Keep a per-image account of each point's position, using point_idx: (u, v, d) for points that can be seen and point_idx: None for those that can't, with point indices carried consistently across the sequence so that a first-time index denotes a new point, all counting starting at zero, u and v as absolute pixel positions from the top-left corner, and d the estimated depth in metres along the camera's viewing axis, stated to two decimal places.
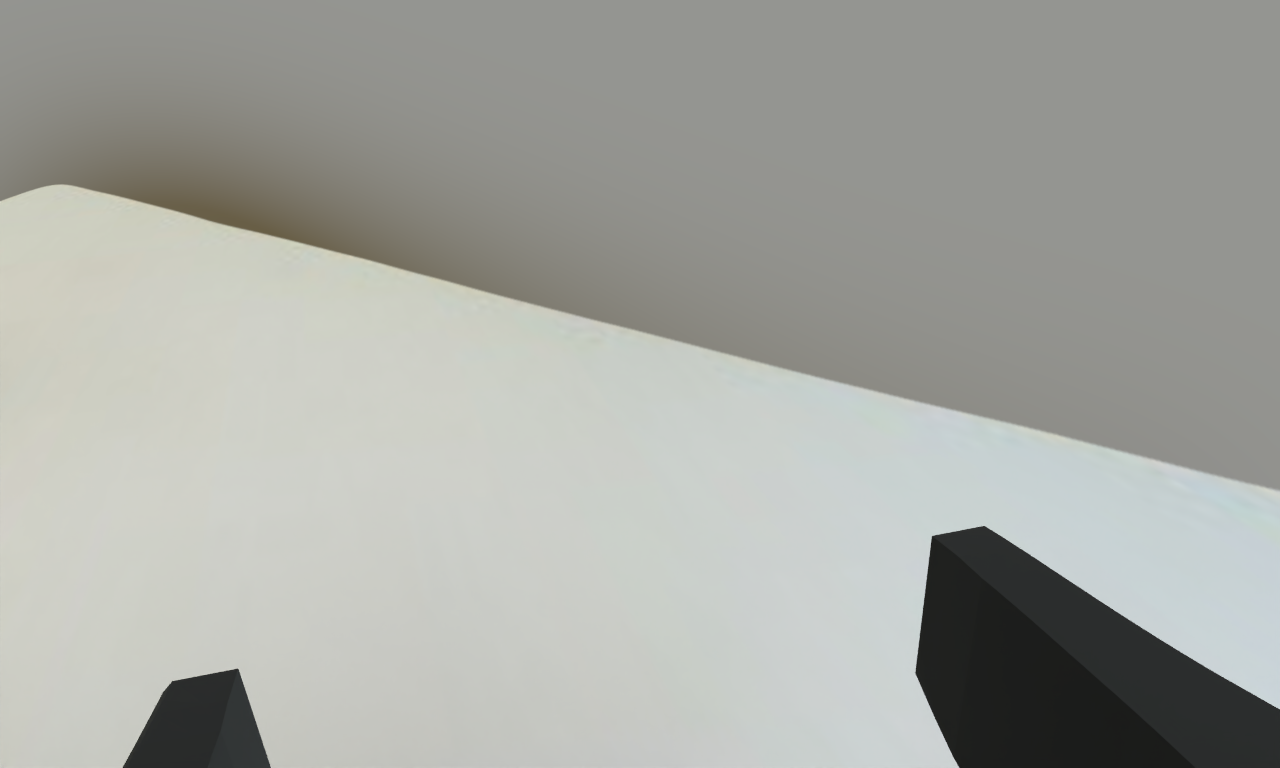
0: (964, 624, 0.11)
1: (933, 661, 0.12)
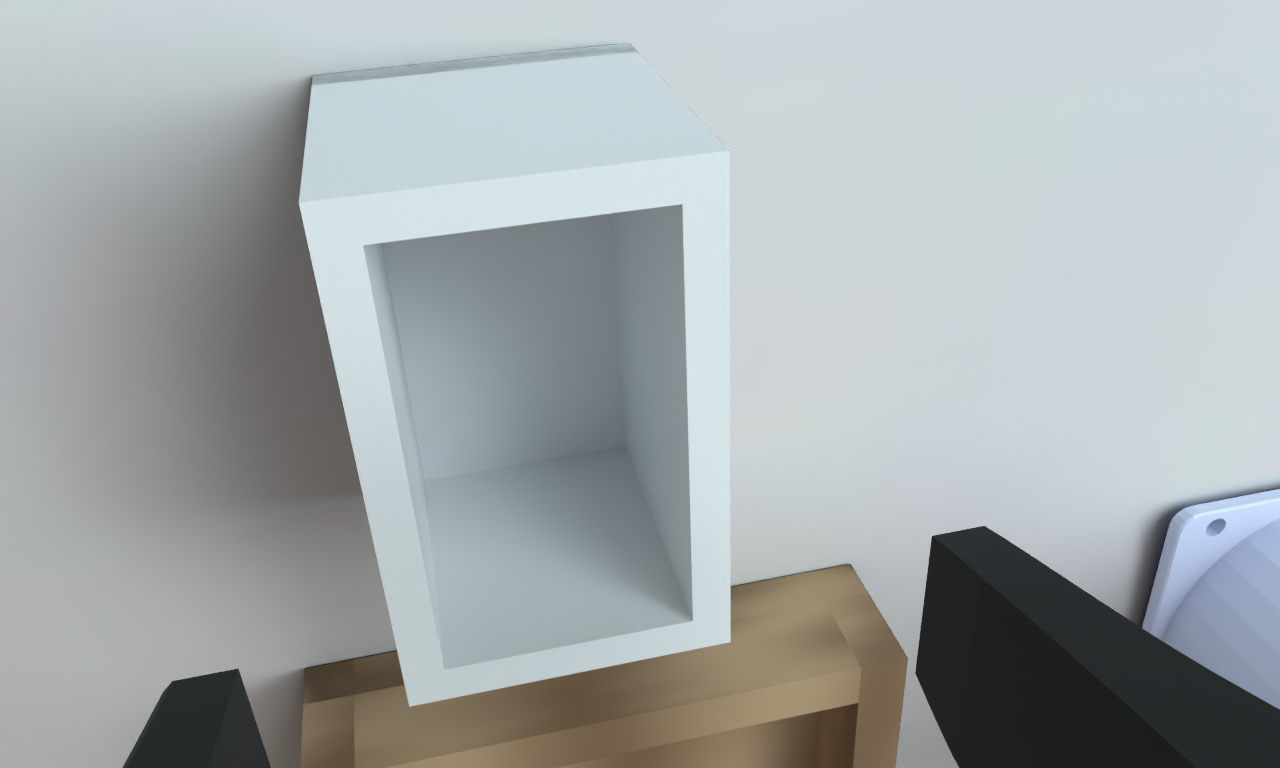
0: (964, 624, 0.11)
1: (933, 661, 0.12)
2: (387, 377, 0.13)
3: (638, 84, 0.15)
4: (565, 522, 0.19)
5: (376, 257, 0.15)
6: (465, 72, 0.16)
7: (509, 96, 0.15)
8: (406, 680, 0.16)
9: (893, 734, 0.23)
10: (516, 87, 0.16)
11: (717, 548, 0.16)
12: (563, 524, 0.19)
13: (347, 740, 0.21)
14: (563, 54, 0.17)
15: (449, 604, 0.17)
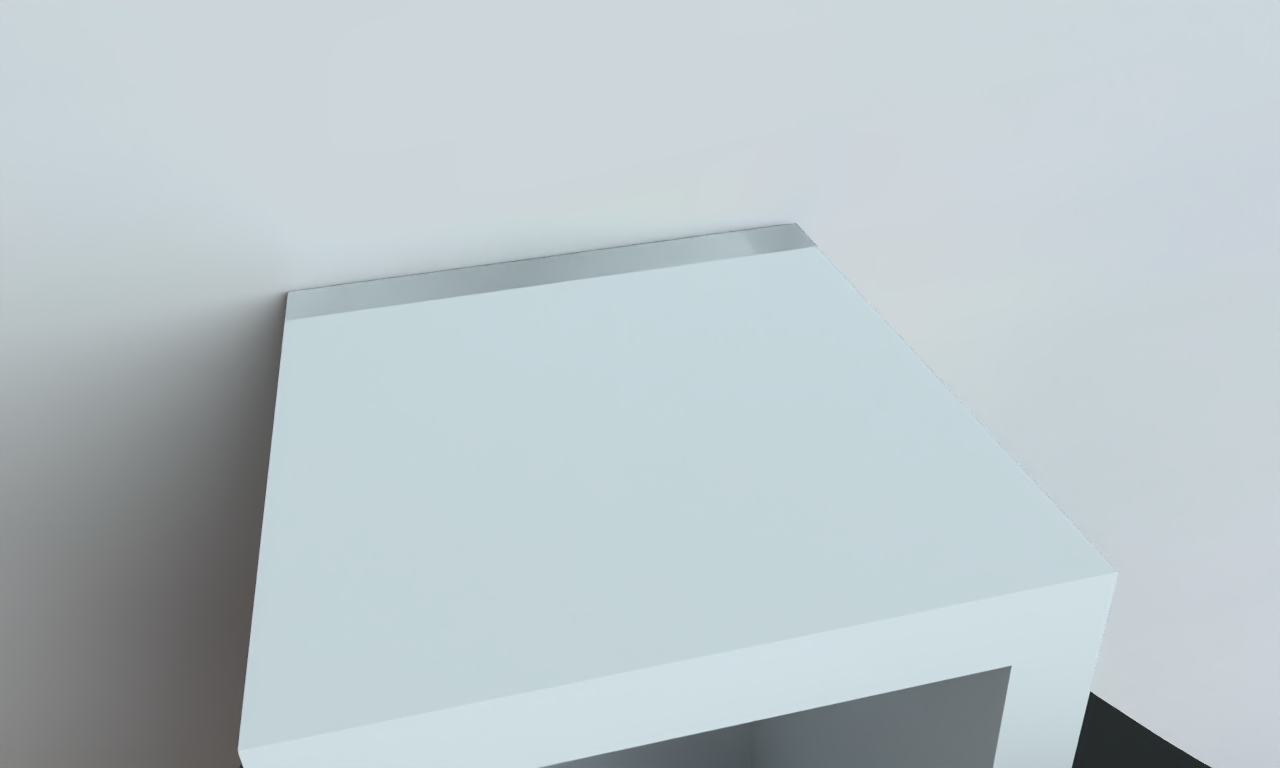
0: None
1: None
2: None
3: (848, 337, 0.09)
4: None
5: None
6: (540, 292, 0.10)
7: (628, 365, 0.09)
8: None
9: None
10: (635, 338, 0.09)
11: None
12: None
13: None
14: (695, 250, 0.11)
15: None
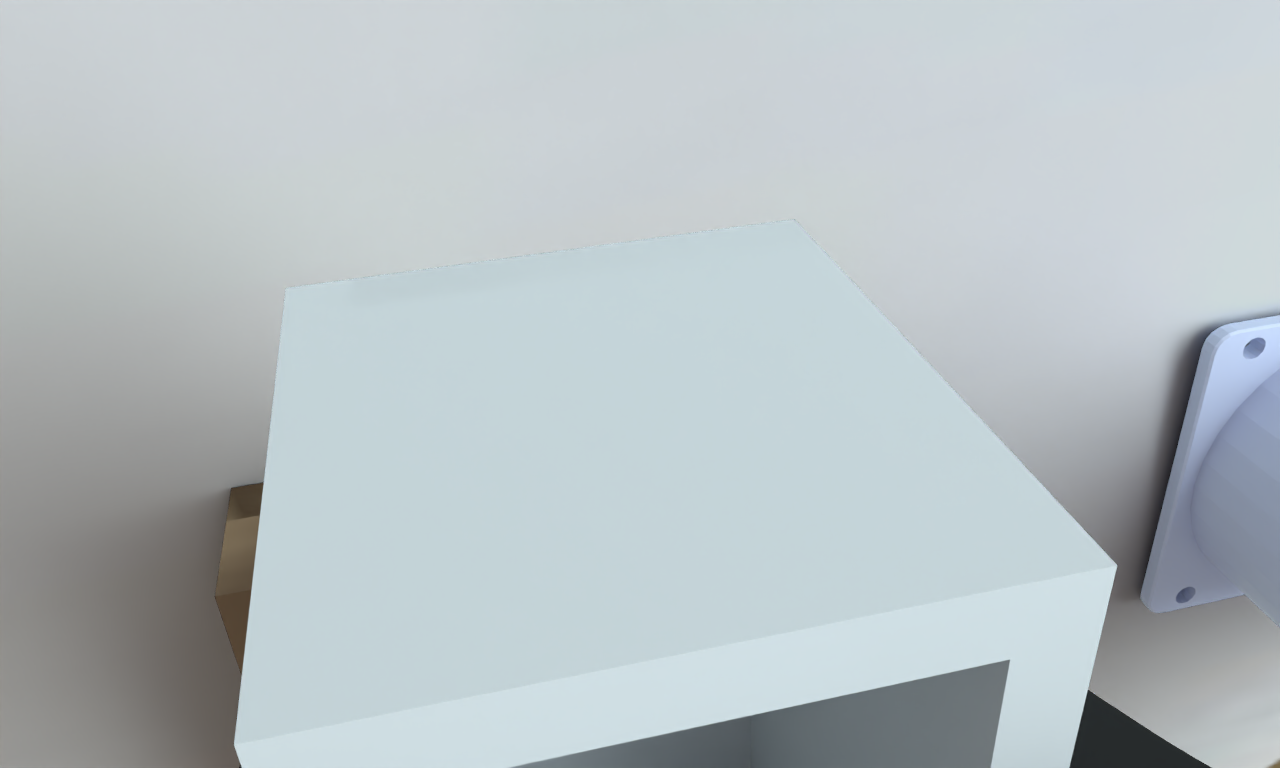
0: None
1: None
2: None
3: (847, 332, 0.09)
4: None
5: None
6: (538, 288, 0.10)
7: (627, 360, 0.09)
8: None
9: None
10: (633, 333, 0.09)
11: None
12: None
13: None
14: (693, 245, 0.11)
15: None
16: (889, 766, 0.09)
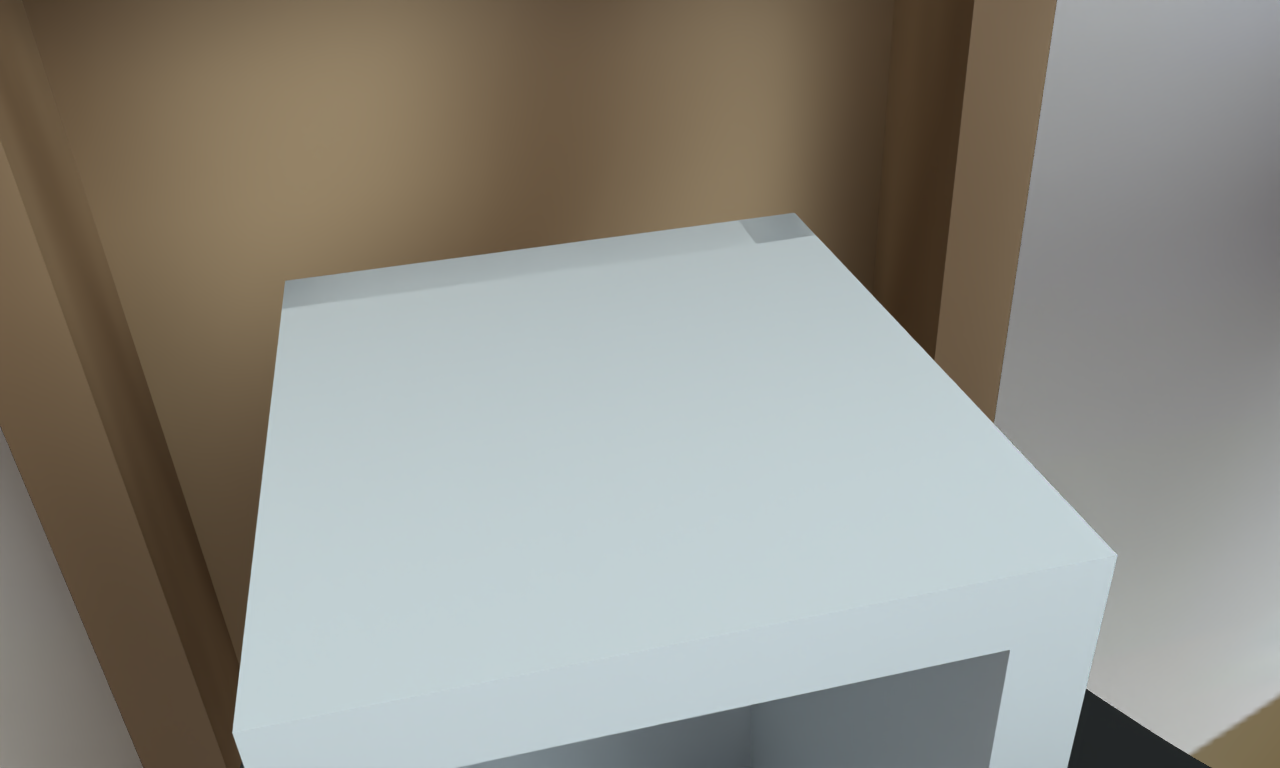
0: None
1: None
2: None
3: (847, 324, 0.09)
4: None
5: None
6: (538, 281, 0.10)
7: (626, 352, 0.09)
8: None
9: None
10: (633, 326, 0.09)
11: None
12: None
13: None
14: (693, 239, 0.11)
15: None
16: (889, 759, 0.09)
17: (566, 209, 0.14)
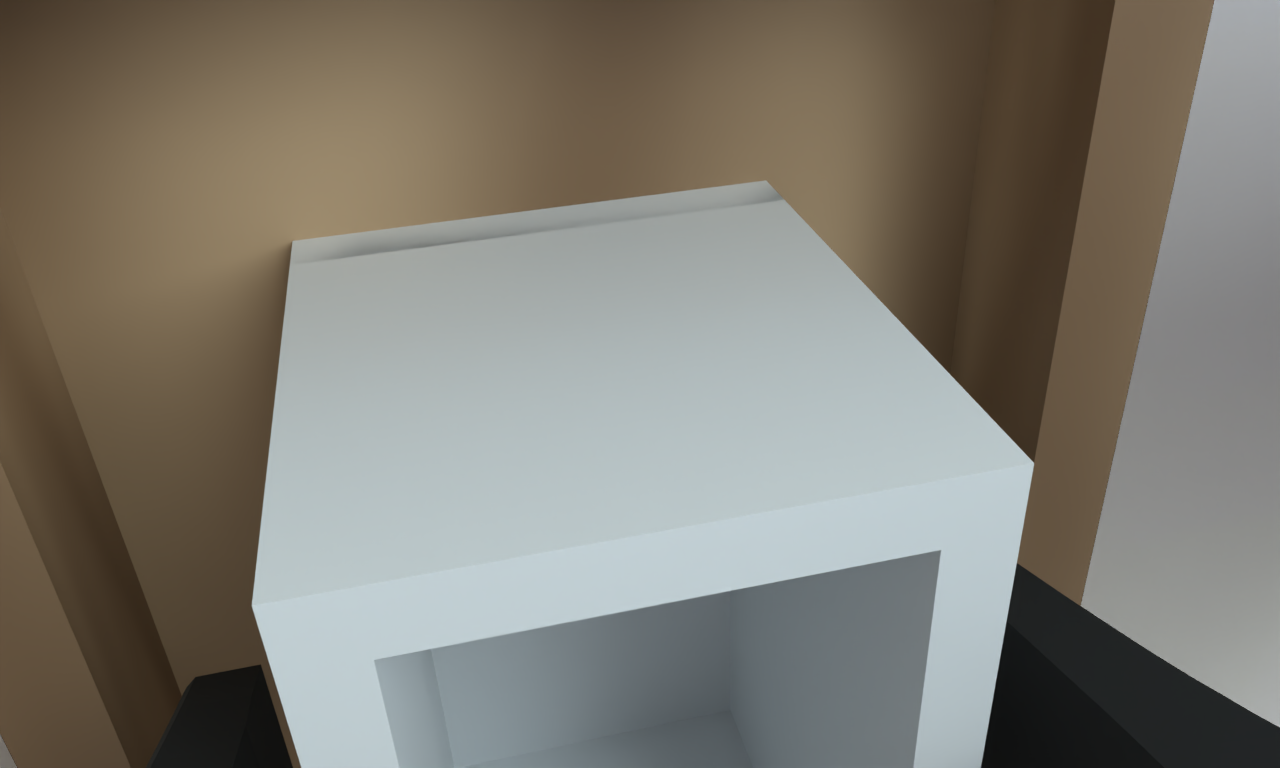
0: None
1: None
2: None
3: (808, 275, 0.10)
4: None
5: None
6: (526, 240, 0.11)
7: (605, 300, 0.10)
8: None
9: (1195, 31, 0.10)
10: (612, 278, 0.10)
11: None
12: None
13: None
14: (670, 203, 0.11)
15: None
16: (847, 675, 0.10)
17: None
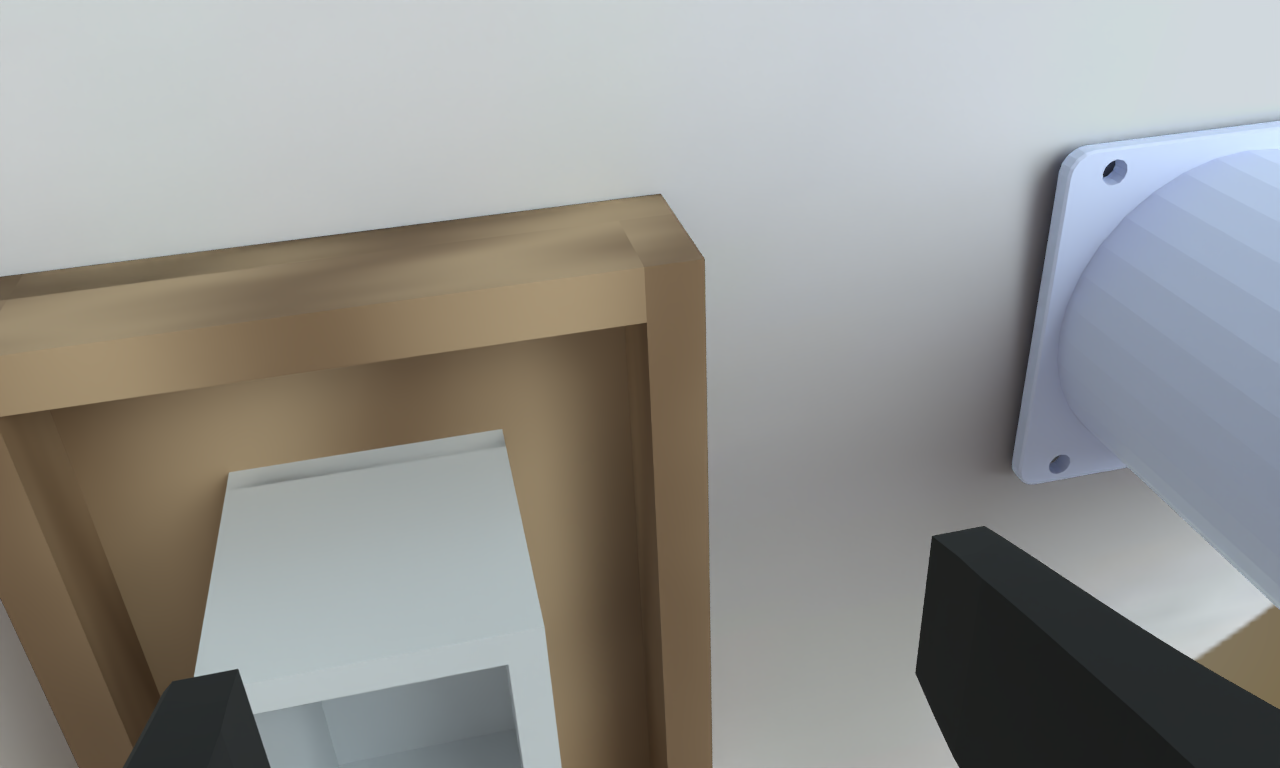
0: (964, 624, 0.11)
1: (933, 661, 0.12)
2: None
3: (494, 506, 0.19)
4: None
5: None
6: (356, 475, 0.20)
7: (385, 521, 0.18)
8: None
9: (698, 377, 0.19)
10: (393, 505, 0.19)
11: None
12: None
13: None
14: (442, 447, 0.20)
15: None
16: None
17: None
